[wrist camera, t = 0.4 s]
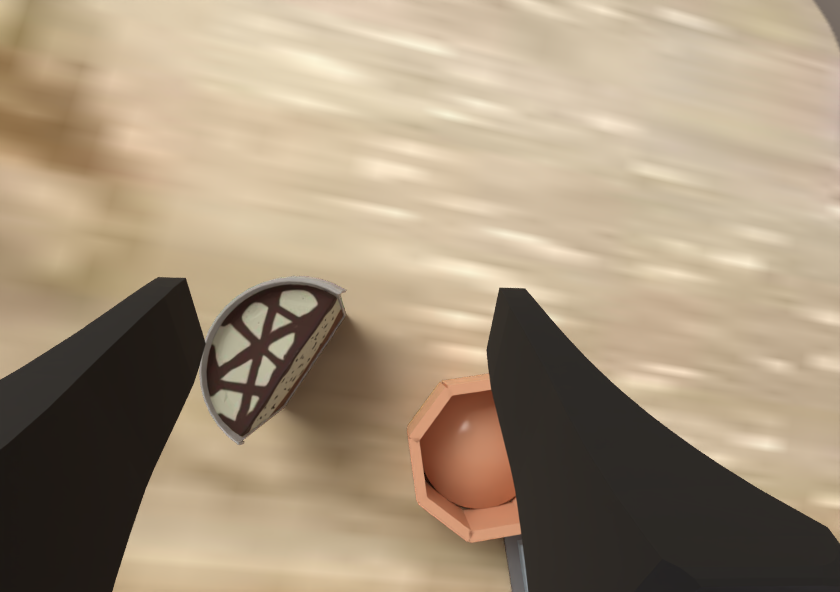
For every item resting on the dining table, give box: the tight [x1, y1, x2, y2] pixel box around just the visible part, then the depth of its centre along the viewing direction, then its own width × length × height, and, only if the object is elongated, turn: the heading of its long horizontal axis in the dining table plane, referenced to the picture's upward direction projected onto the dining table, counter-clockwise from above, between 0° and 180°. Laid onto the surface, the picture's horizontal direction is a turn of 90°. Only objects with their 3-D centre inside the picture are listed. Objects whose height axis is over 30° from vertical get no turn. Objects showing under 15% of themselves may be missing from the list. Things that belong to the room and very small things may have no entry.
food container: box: [199, 276, 346, 445], centre depth 35 cm, size 12×6×10 cm, turn 147°
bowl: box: [407, 374, 521, 543], centre depth 38 cm, size 12×12×4 cm
